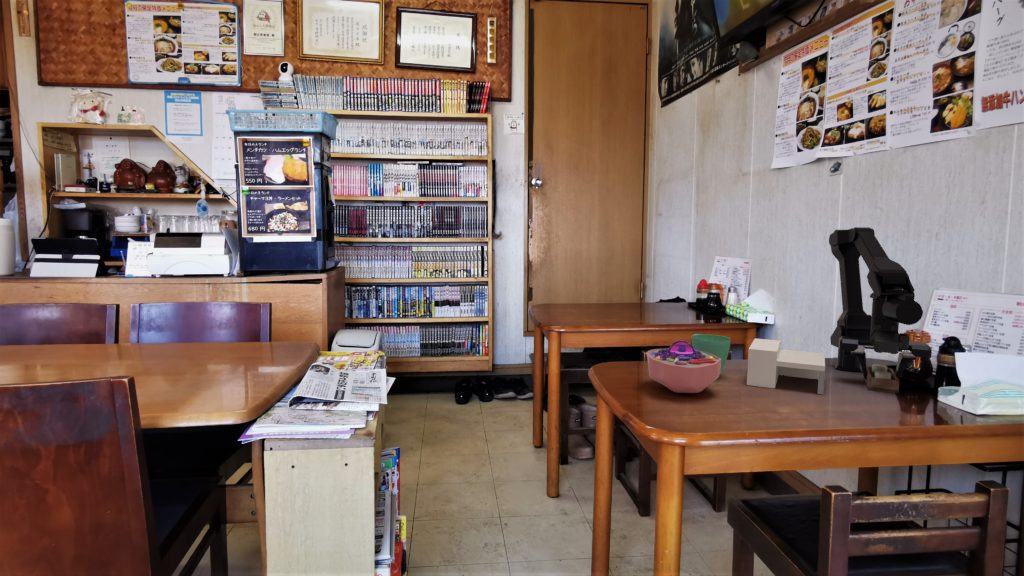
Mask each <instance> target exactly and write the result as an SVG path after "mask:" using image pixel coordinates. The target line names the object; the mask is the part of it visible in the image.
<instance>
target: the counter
mask: <svg viewBox="0 0 1024 576" xmlns="http://www.w3.org/2000/svg"><path fill="white" fill-rule="evenodd" d="M781 343H782V341H781V340H776V339H766V338H765V339H764V338H757V337H756V338H754V339H753V340H752V342H751V344H750V346H749V347H748V354H747V355H748V356H747V375H746V386H753V387H754V386H755V387H760V388H770V389H776V385H777V382H778V379H779V376H783V375H784V377H793V378H802V379H808V380H809V379H810V380H818V381H817V394H818V395H824V392H825V391H824V390H825V376H826V374H825V373H826V357H825V353H824V352H823V353H822V352H813V351H803V350H802V351H801V350H791V349H781V345H782V344H781Z"/></svg>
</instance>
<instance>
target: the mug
mask: <svg viewBox="0 0 1024 576" xmlns="http://www.w3.org/2000/svg"><path fill="white" fill-rule="evenodd" d="M690 338H691V339H690V344H691V345H692V346H693V348H694V349H695V350H699V351H704V352H708V353H711V354H713V355H715V356H717V357H719V358H721V369H720V375H719V377H720V376H721V373H722V371H723V369H724V367H725V365H726V362H727V359H728V355H729V352H730V348H731V343H732V339H731V338H730V337H728V336H724V335H718V334H704V333H703V334H700V333H694V334H692V335H691V337H690Z"/></svg>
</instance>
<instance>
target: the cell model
mask: <svg viewBox="0 0 1024 576" xmlns="http://www.w3.org/2000/svg"><path fill="white" fill-rule="evenodd" d="M645 354H646V357H647V367H648V369H647V370H648V375H649V378H650V379H651V380H653V381H654V382H656V383H658V384H660V385H662V386H664V387H666V388H667V389H668V390H670V391H671V392H674V393H678V394H699V393H701V392H703V391H704V390H705V389H706V388H707V386H709V385H710V384H711V383H713V382H715V381H716V380H717V379H718V378H720V376H721V374H720V369H721V358H719V357H717V356H715V355H713V354H711V353H708V352H704V351H699V350H695V349H694V348H693V346H692V345H691V342H688V341H687V340H676V341H675V342H673V343H672V344H671V345H670V346H669V347H668V348H666V347H665V348H654V349H649V350H648V351H647V352H645ZM719 375H720V376H719Z"/></svg>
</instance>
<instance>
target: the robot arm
mask: <svg viewBox="0 0 1024 576" xmlns="http://www.w3.org/2000/svg"><path fill="white" fill-rule="evenodd" d="M828 244H829V247H830V251H831V254H832V255H833V256H834V258H836V260H837V261H838V265H839V281H840V290H841V291H840V292H841V293H840V294H841V305H842V313H841V314H840V315H839V318H838V319H837V321H836V327H835V330H833V333H831V335H830V339H829V340H830V345H831V346H833V347H836V348H838V349H837V360H836V361H837V362H834V363H835V364H834V366H835V369H836V370H843V371H851V372H852V371H853V372H861V373H862V374H863V379H864V381H865V380H866V378H867V368H866V366H867V356H866V352H865V350H868V349H869V350H873V351H874V352H875V353H879V354H882V353H884V354H885V353H887V354H891V355H898V357H897V362H896V367H895V372H894V373H895V374H896V376H897V378H898V380H899V381H900V378H901V376H902V374H903V372H904V371H905V368H907V366H908V365H909V363H910V362H912V361H917V358H922V359H923V358H924V359H926V358H927V359H932V353H933V352H932V351H933V349H932V347H931V346H930V345H929V344H928V343H927V342H920V341H910V334H909V333H902V332H900V333H899V327H900V325H899V324H902V325H907V326H911V325H915V324H917V323H918V322H919V321H921V319H922V318H923V315H924V310H923V308H922V305H921V304H920V303H919V302H918V301H915V288H914V286H913V284H912V282H911V280H910V279H911V278H910V276H909V274H908V273H907V270H906V269H905V268H904V267H903V266H902V265H901V263H899V262H896V261H894V260H892V259H890V257H889V256H888V254H887V253H886V252H885V250H884V248H883V247H882V245H881V243H880V242H879V240H878V238H877V237H876V236H875V229H873V228H871V227H868V226H867V227H866V226H863V227H858V226H857V227H856V226H855V227H853V228H849V229H835V230H834V231H833V232H832V233H831V234H829V237H828ZM860 257H861V258H862V260H863V262H864V263H865V264H866V267H867V268H868V273H867V275H866V278H867V283H868V285H869V287H870V289H871V290H872V292H871V293H870V295H869V298H871V299H872V303H871V314H867V313H866V312H865V310H864V305H863V304H864V303H863V293H862V292H863V291H862V280H861V271H860V270H861V269H860Z"/></svg>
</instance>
